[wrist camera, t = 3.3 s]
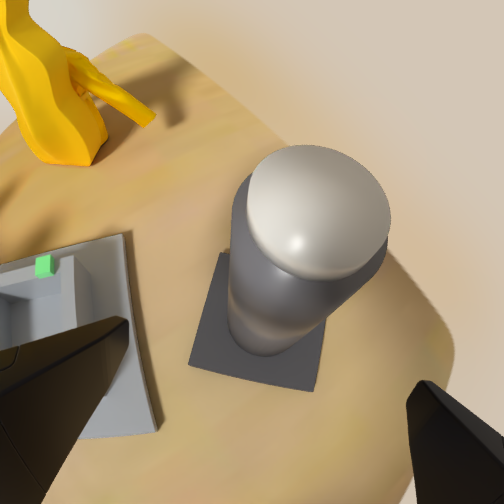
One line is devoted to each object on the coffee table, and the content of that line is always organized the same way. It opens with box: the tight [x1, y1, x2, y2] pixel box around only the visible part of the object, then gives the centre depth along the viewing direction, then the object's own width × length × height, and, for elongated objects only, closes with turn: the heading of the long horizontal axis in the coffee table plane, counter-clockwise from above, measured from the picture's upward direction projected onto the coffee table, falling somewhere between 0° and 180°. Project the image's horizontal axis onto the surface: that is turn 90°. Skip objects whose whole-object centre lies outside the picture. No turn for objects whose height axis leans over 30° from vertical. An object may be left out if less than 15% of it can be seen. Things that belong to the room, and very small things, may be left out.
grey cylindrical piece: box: [227, 145, 391, 357], centre depth 14 cm, size 5×5×13 cm
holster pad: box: [188, 252, 326, 392], centre depth 20 cm, size 8×8×1 cm
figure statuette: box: [0, 0, 156, 166], centre depth 16 cm, size 18×8×22 cm, turn 81°
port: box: [0, 234, 158, 439], centre depth 16 cm, size 14×14×4 cm
